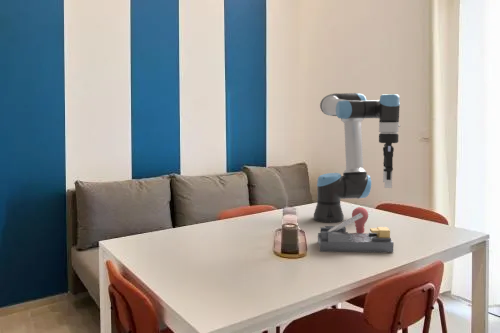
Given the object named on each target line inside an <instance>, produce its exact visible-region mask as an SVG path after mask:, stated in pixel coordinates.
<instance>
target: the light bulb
mask: <svg viewBox="0 0 500 333" xmlns="http://www.w3.org/2000/svg"><path fill="white" fill-rule="evenodd" d="M359 213H361V214H362V215H363V217H362V218H360V219H358V220H356V221H354V222H353V223H354V226H355V230H356V232H355V233H361V234H365V225H366V222H367V221H368V218H369V213H368V211H367V209H366V208H364V207H362V206H360V207H359V206H358V207H356V208H354V209H353V210H352V212H351V218H352V217H354V216H356V215H357V214H359Z"/></svg>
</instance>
